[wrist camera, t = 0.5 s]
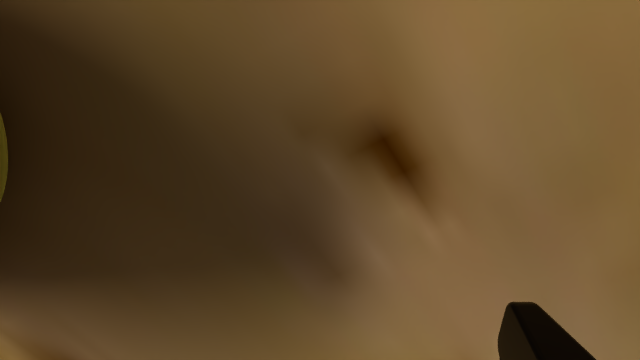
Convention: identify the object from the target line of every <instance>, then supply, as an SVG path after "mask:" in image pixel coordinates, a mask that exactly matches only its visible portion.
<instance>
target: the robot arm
mask: <svg viewBox="0 0 640 360" xmlns="http://www.w3.org/2000/svg"><path fill="white" fill-rule="evenodd" d="M498 352H499V357H500V360H596V359H595V358H594V357H593V356H592V355H591V354H590V353H589V352H588V351H587V350H586V349H584V348H583V347H582V346H581V345H580V344H579V343H578V342H577V341H576V340H575V339H574V338H573V337H572V336H571V335H570V334H568V333H567V332H566V331H565V330H564V329H563V328H562V327H561V326H560V325H559V324H558V323H557V322H556V321H555V320H554V319H552V318H551V317H550V316H549V315H548V314H547V313H546V312H545V311H544V310H543V309H542V308H541V307H540V306H538V305H537V304H535V303H533V302H510V303H509V304H508V305H507V307H506V309H505V313H504V317H503V320H502V324H501V328H500V332H499V335H498Z"/></svg>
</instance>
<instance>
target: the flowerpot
mask: <svg viewBox="0 0 640 360" xmlns="http://www.w3.org/2000/svg"><path fill="white" fill-rule="evenodd" d="M7 173H8V145H7V138H6V131H5V127H4V123H3V119H2V115H1V112H0V203H1V200H2V197H3V194H4V190H5V185H6V181H7Z"/></svg>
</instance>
